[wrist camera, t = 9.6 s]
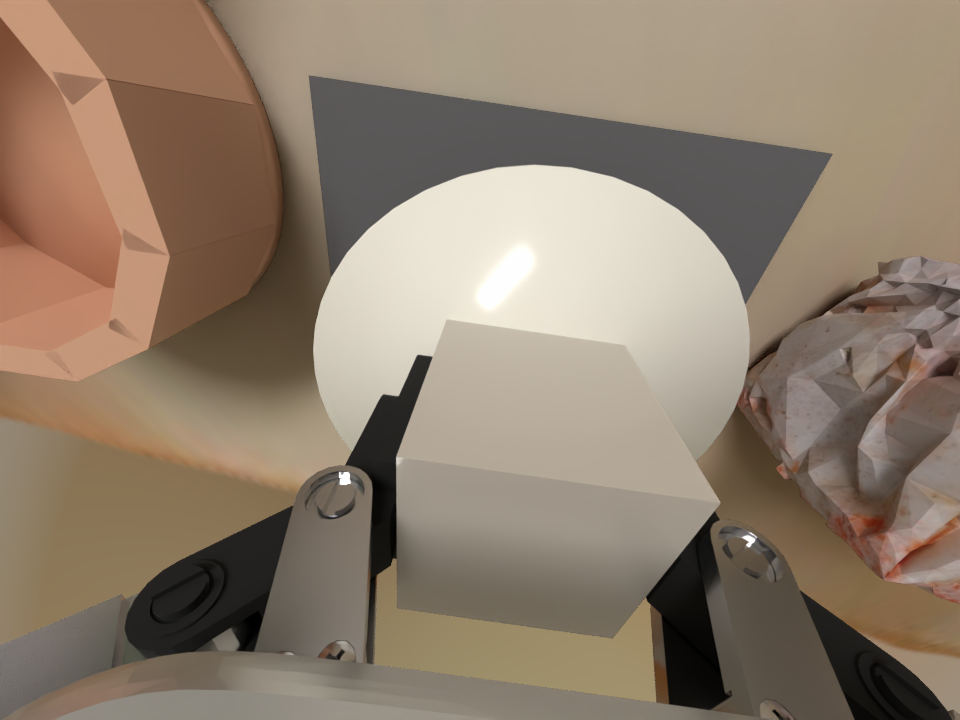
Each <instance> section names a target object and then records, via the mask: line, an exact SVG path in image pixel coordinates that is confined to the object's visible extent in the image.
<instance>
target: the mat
mask: <svg viewBox="0 0 960 720" xmlns="http://www.w3.org/2000/svg"><path fill="white" fill-rule="evenodd" d="M309 81H310V90H311V100H312V109H313V118H314V127H315V136H316V145H317V154H318V163H319V172H320V181H321V190H322V199H323V209H324V218H325V227H326V236H327V245H328V254H329V263H330V272H331V277H332V275H333V274H334V272H335V271H336V269H337V268H338V266H339V265H340V263H341V261H342V260H343V258H344V257H345V255H346V254H347V252H348V251H349V250H350V249H351V248H352V247H353V245H354V244H355V243H356V242H357V241H358V240H359V239H360V238H361V237H362V235H363V234H364V233H365V232H366V231H367V230H368V229H369V228H370V227H371V226H373V225H374V224H375V223H376V222H378V221H379V220H380V219H381V218H383V217H384V216H385V215H386V214H388V213H389V212H390V211H391V210H392V209H394V208H395V207H397V206H399V205H401V204H402V203H404V202H406V201H407V200H409V199H411V198H413V197H414V196H416V195H418V194H419V193H421V192H423V191H425V190H427V189H429V188H431V187H434V186H436V185H439V184H442V183H444V182H447V181H449V180H452V179H454V178H457V177H459V176H462V175H465V174H470V173H474V172H478V171H483V170H487V169H492V168H496V167H506V166H518V165H531V164H536V165H549V166H563V167H572V168H576V169H581V170H585V171H589V172H594V173H598V174H602V175H607V176H611V177H614V178H617V179H619V180H622V181H624V182H627V183H629V184H632V185H634V186H637V187H639V188H642V189H644V190H647V191H649V192H650V193H652V194H654V195H655V196H657V197H659V198H660V199H662V200H664V201H665V202H667V203H669V204H670V205H672V206H673V207H675V208H677V209H678V210H680V211H681V212H682V213H683V214H684V215H685V216H686V217H688V218H689V219H690V220H691V221H692V222H693V223H694V224H696V225H697V226H698V227H699V228H700V229H701V230H702V231H704V232H705V234H706V235H707V236H708V237H709V239H710V240H711V241H712V242H713V244H714V245H715V246H716V247H717V249H718V250H719V251H720V252H721V254H722V255H723V256H724V258H725V259H726V261H727V263H728V265H729V267H730V269H731V271H732V273H733V274H734V276H735V278H736V280H737V282H738V284H739V287H740V290H741V294H742V297H743V300H744V303H745V304H746V302H747V300H748V299H749V297H750V295H751V294H752V292H753V290H754V288H755V287H756V285H757V283H758V282H759V280H760V278H761V276H762V275H763V273H764V271H765V270H766V268H767V266H768V264H769V263H770V261H771V259H772V257H773V256H774V254H775V252H776V251H777V249H778V247H779V245H780V244H781V242H782V240H783V239H784V237H785V235H786V233H787V232H788V230H789V228H790V227H791V225H792V223H793V221H794V220H795V218H796V216H797V215H798V213H799V211H800V209H801V208H802V206H803V204H804V202H805V201H806V199H807V197H808V196H809V194H810V192H811V190H812V189H813V187H814V185H815V184H816V182H817V180H818V178H819V177H820V175H821V173H822V172H823V170H824V168H825V166H826V165H827V163H828V161H829V160H830V158H831V156H832V154H829V153H823V152H816V151H809V150H803V149H796V148H789V147H783V146H776V145H769V144H763V143H756V142H749V141H743V140H736V139H729V138H723V137H716V136H709V135H703V134H696V133H689V132H683V131H676V130H669V129H663V128H656V127H649V126H643V125H636V124H629V123H623V122H616V121H609V120H603V119H596V118H589V117H583V116H576V115H569V114H562V113H556V112H549V111H542V110H536V109H529V108H522V107H516V106H509V105H502V104H496V103H489V102H482V101H476V100H469V99H462V98H456V97H449V96H442V95H436V94H429V93H422V92H416V91H409V90H402V89H396V88H389V87H382V86H376V85H369V84H362V83H356V82H349V81H342V80H336V79H329V78H322V77H316V76H309Z"/></svg>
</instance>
